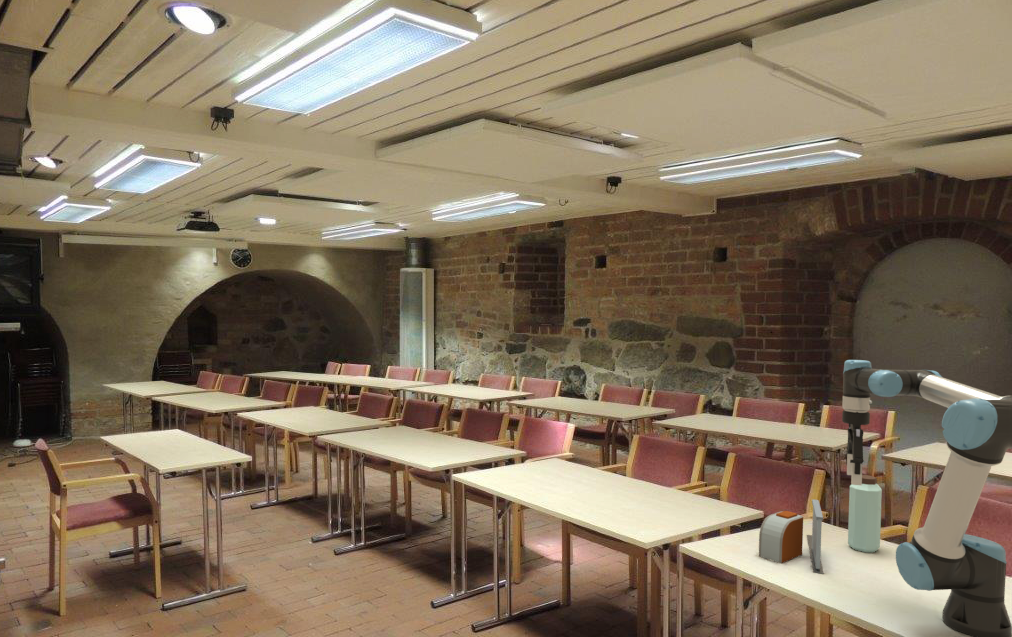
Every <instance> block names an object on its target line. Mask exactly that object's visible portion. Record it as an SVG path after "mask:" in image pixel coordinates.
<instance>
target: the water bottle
mask: <svg viewBox="0 0 1012 637" xmlns="http://www.w3.org/2000/svg"><path fill="white" fill-rule="evenodd" d="M882 493H883V489H882V488H881V486H879V484H878V479H877V477H875V476H873V475H867V474H862V486H861V485H852V484H850V485H849V496H848V497H849V498H848V500H849V502H848V525H847V527H848V528H847V530H848V532H847V544H848V545H849V547H850V548H851V547H852V549H853V550H854V549H855V550H854V551H857V550H858V552H861V551H862V552H861V553H873V552H874V553H876V552H877V551H878V550H879V549H880V548H881V531H882V530H881V528H882V526H881V522H882V499H883V498H882V495H883V494H882ZM875 551H876V552H875Z"/></svg>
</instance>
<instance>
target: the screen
mask: <svg viewBox="0 0 1012 637" xmlns="http://www.w3.org/2000/svg"><path fill="white" fill-rule="evenodd" d="M811 504H812V530H811V531H812V532H811V535H812V551H813V556H814V561H815V566H816V569H820V558H822V555H821V554H822V553H821V552H822V550H821V549H822V524H823V523H822V521H824V516H823V512H822V508H821V504H820V501H819V500H818V499H811Z"/></svg>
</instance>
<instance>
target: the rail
mask: <svg viewBox="0 0 1012 637" xmlns="http://www.w3.org/2000/svg"><path fill="white" fill-rule="evenodd" d="M806 540H807V547H808V551H809V552H808V553H809V555H810V556H809V557H810V562H811V568H812V573H815V574H822V575H823V574H825V573H824V569H823V563H822V559H821V558H822V557H820V569H816V566H815V561H814V556H813V551H812V534H806Z"/></svg>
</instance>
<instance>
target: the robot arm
mask: <svg viewBox="0 0 1012 637" xmlns="http://www.w3.org/2000/svg"><path fill="white" fill-rule="evenodd" d="M842 377H843V378H842V380H843V381H842V384H843V385H842V409H843V411H842V412H841V414H842V415H841V416H842V417H841V420H842V423H844V424H848V428H847V444H846V445H847V447H846V450H847V451H846V452H847V455H846V456H847V459H846V460H847V461H846V475H847V476H850V477H851V478H850V479H851V482H850V483H851V484H850V485H861V486H862V475H863V463H864V461H865V460H864V445H863V444H864V438H863V437H864V430H863V429H862V427H861V426H867V425H869V424H870V419H871V413H870V412H869V411H870V410H871V404H873V400H871V395H875V396H878V397H882V398H883V397H885V398H893V397H895V396H900V397H901V396H905V397H907V396H909V397H911V396H914V397H918V398H920V399H921V398H922V399H924V400H927V401H930V402H932V403H935V404H937V405H939V406H942V407H944V408H947V409H946V411H945V412H944V414H943V417H942V420H941V427H942V428H943V430H942V431H941V432H942V435H943V438H944V439H945V441H946V447H947V449H949V451H950V453H949V457H948V459H947V462H946V465H945V467H944V470H943V472H942V476H941V478H940V481H939V484H938V486H937V489H936V492H935V494H934V498H933V499H932V500H933V501H932V503H931V506H930V508H929V511H928V515H927V517H926V520H925V523H924V525H923V526H922V527H918V528H916V529H915V531H914V533H913V535H912V537H911V540H910V542H907V541H904V542H902V543H900V544H898V545H897V547H896V550H895V561H896V562H895V563H896V566H897V569H898V572H899V574H900V576H901V577H902V579H903V580H904V582H906V584H907V585H908V586H910V587H911V588H913V589H915V590H918V591H929V592H930V591H941V590H942V591H945V590H950V593H949V596H948V598H947V600H946V602H945V605H944V606H943V609H942V617H941V620H942V621H943V622H944V624H946V626H948V627H950V628H951V629H953V630H955V631H958V633H959V632H960V633H963V634H965V635H968V636H972V637H1012V622H1011V619H1010V616H1009V613H1008V610H1007V607H1006V606H1007V605H1006V604H1005V603H1006V602H1005V596H1006V595H1005V593H1006V577H1007V576H1006V573H1007V563H1008V562H1007V557H1006V556H1007V552H1006V550H1005V548H1004V546H1003V545H1001V544H1000V543H997V542H996V541H993V540H990V539H988V538H983V537H982V536H981V537H979V536H976V535H972V534H968V533H966V532H967V530H968V528H969V525H970V522H971V519H972V517H973V514H974V512H975V510H976V508H977V507H976V506H977V504H978V502H979V499H980V497H981V495H982V492H983V489H984V487H985V484H986V482H987V479H988V477H989V474H990V471H991V469H992V467H994V466H997V465H1000V464H1001V463H1002V462H1003V460H1004V457H1005V455H1006V452H1007V450H1010V449H1011V450H1012V395H1005V396H1000V395H999V394H998V395H997V394H995V393H991V392H988V391H985V390H982V389H979V388H977V387H974V386H973V387H972V386H970V385H967V384H964V383H961V382H958V381H954V380H952V379H948V378H945V377H943V376H942V375H941V374H940V373H939V372H938V371H936V370H929V369H880V368H879V369H878V368H872V362H871V361H869V360H862V359H847V360H845V361H844V366H843V372H842Z"/></svg>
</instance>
